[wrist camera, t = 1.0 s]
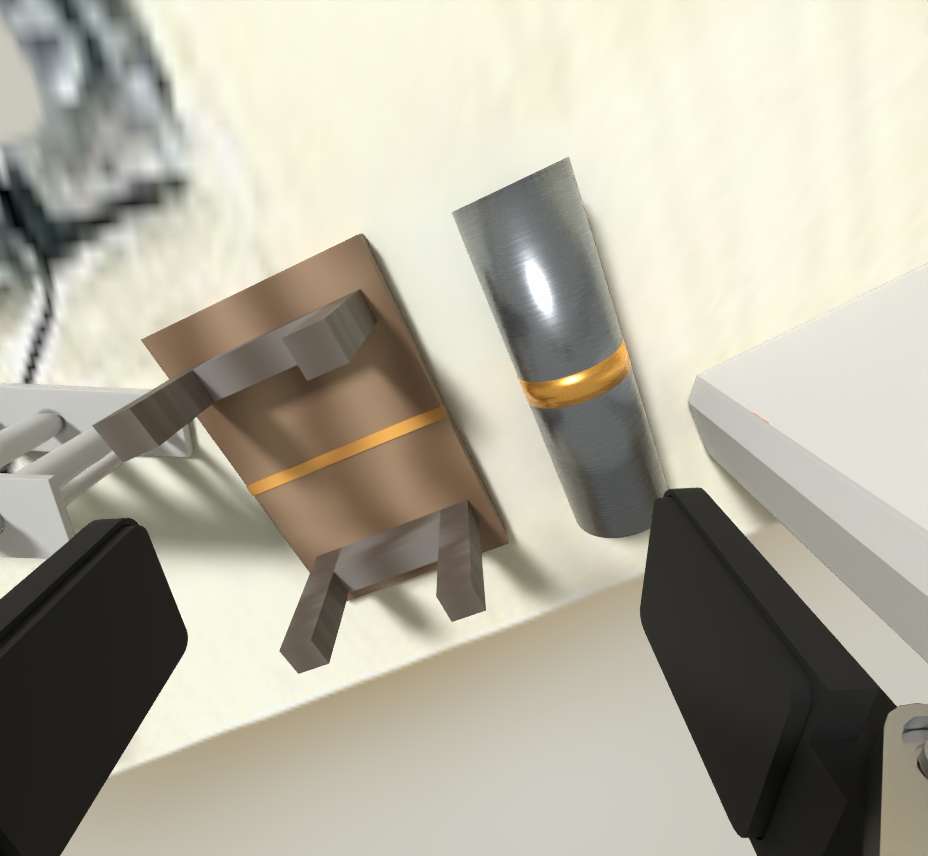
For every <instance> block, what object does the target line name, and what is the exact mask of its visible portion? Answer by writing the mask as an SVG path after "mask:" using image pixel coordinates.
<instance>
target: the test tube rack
mask: <svg viewBox="0 0 928 856" xmlns="http://www.w3.org/2000/svg"><path fill="white" fill-rule="evenodd" d="M151 390H153V389H130V388H107V387H85V386H63V385H41V384H19V383H0V468H1V467H3V466H4V465H6V464H8V463H10V462H11V461H13V460H15V459H17V458H18V457H20V456H22V455H24V454H26V453H27V452H29V451H44V452H49V453H47V454H46V455H44V456H42V457H41V458H39V459H37V460H36V461H34V462H32V463H31V464H29V465H27V466H26V467H24V468H22V469H21V470H19V471H17V472H16V473H14V474H6V473H0V529H1V528H3V527H4V529H3V530H1V531H0V557H16V558H49V557H50V556H52V555H53V554H54V553H55V552H56V551H57V550H59V549H60V548H61V547H62V546H63V545H64V544H66V543H67V542H68V541H69V540H70V539H71V538H73V537H74V536H75V534H74V531H73V528H72V525H71V522H70V519H69V516H68V513H67V510H66V505H68V504H69V503H70V502H72V501H73V500H74V499H76V498H77V497H78V496H80V495H81V494H82V493H84V492H85V491H86V490H88V489H89V488H90V487H92V486H93V485H94V484H95V483H97V482H98V481H99V480H101V479H102V478H103V477H105V476H106V475H107V474H109V473H110V472H111V471H113V470H114V469H115V468H117V467H118V466H119V465H121V464H122V463H123V462H122V461H121V460H120V459H119V458H118V456H117V455H116V454H115V453H114V452H113V450H112V449H111V448H110V447H109V446H108V444H107V443H106V442H105V441H104V440H103V438H102V437H101V436H100V435H99V434H98V432H97V431H96V430H95V429H94V428H93V426H92V425H94V424H95V423H97V422H99V421H100V420H102V419H104V418H105V417H107V416H109V415H111V414H112V413H114V412H116V411H117V410H119V409H121V408H122V407H124V406H126V405H127V404H129V403H131V402H133V401H134V400H136V399H138V398H139V397H141V396H143V395H144V394H146V393H148V392H149V391H151ZM193 453H194V449H193V444H192V439H191V434H190V429H189V424H187V425H185V426H184V427H183V428H182V429H180V430H179V431H178V432H177V433H175V434H174V435H173V436H172V437H170V438H169V439H168V440H167V441H165V442H164V443H163V444H162V445H160V446H159V447H157V448H154V449H152V450H150V451H148V452H145V453H143V454H141V455H144V456H169V457H190V456H191V455H192V454H193ZM107 454H108V455H107ZM104 456H105V457H104ZM103 457H104V458H103ZM101 458H102V459H101ZM100 459H101V460H100ZM98 460H99V461H98ZM97 461H98V462H97ZM94 463H95V464H94ZM93 464H94V465H93ZM91 465H92V466H91ZM90 466H91V467H90ZM88 467H89V468H88ZM87 468H88V469H87ZM86 469H87V470H86ZM84 470H85V471H84ZM83 471H84V472H83ZM81 472H82V473H81ZM80 473H81V474H80ZM78 474H79V475H78ZM77 475H78V476H77ZM76 476H77V477H76ZM74 477H75V478H74ZM73 478H74V479H73ZM71 479H72V480H71ZM70 480H71V481H70ZM68 481H69V482H68ZM67 482H68V483H67ZM66 483H67V484H66ZM64 484H65V485H64ZM63 485H64V486H63ZM61 486H62V487H61ZM60 487H61V488H60Z"/></svg>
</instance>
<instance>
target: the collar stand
mask: <svg viewBox="0 0 928 856" xmlns="http://www.w3.org/2000/svg"><path fill="white" fill-rule="evenodd" d="M141 341H142V342H143V343H144V345H145V346H146V348H147V349H148V350H149V352H150V353H151V354H152V356H153V357H154V359H155V360H156V361H157V363H158V364H159V366H160V367H161V368H162V370H163V371H164V372H165V374H166V375H167V377H168V378H169V379H170V380H168V381H166V382H165V383H163V384H161V385H160V386H158V387H156V388H154V389H153V390H151V391H149V392H148V393H146V394H144V395H143V396H141V397H139V398H138V399H136V400H134V401H133V402H131V403H129V404H127V405H126V406H124V407H122V408H121V409H119V410H117V411H116V412H114V413H112V414H111V415H109V416H107V417H105V418H104V419H102V420H100V421H99V422H97V423H95V424H94V425H92V426H93V428H94V429H95V430H96V431H97V432H98V434H99V435H100V436H101V437H102V438H103V440H104V441H105V442H106V443H107V444H108V446H109V447H110V448H111V449H112V450H113V452H114V453H115V454H116V455H117V456H118V458H119V459H120V460H121V461H122V462H125V461H127V460H130V459H132V458H134V457H136V456H139V455H141V454H143V453H145V452H148V451H150V450H152V449H154V448H157V447H159V446H160V445H162V444H163V443H164V442H165V441H167V440H168V439H169V438H170V437H172V436H173V435H174V434H175V433H177V432H178V431H179V430H180V429H182V428H183V427H184V426H185V425H187V424H188V423H189V422H190V421H192V420H193V419H194V418H195V417H197V418H198V419H199V421H200V422H201V423H202V425H203V426H204V428H205V429H206V430H207V432H208V433H209V434H210V436H211V437H212V439H213V440H214V441H215V443H216V444H217V445H218V447H219V448H220V450H221V451H222V452H223V454H224V455H225V456H226V458H227V459H228V461H229V462H230V463H231V465H232V466H233V467H234V469H235V470H236V472H237V473H238V474H239V476H240V477H241V479H242V480H243V481H244V483H245V484H246V485H247V486H246V487H247V488H248V490H249V491H250V493H251V494H252V495H253V496H255V498H256V499H257V501H258V502H259V503H260V505H261V506H262V507H263V509H264V510H265V512H266V513H267V514H268V516H269V517H270V518H271V520H272V521H273V523H274V524H275V525H276V527H277V528H278V529H279V531H280V532H281V534H282V535H283V536H284V538H285V539H286V541H287V542H288V543H289V545H290V546H291V547H292V549H293V550H294V552H295V553H296V554H297V556H298V557H299V558H300V560H301V561H302V563H303V564H304V565H305V567H306V568H307V569H308V571H309V572H310V575H309V578H308V580H307V583H306V585H305V588H304V590H303V593H302V595H301V598H300V600H299V603H298V605H297V608H296V610H295V613H294V615H293V618H292V620H291V623H290V626H289V628H288V631H287V633H286V636H285V638H284V641H283V643H282V646H281V648H280V652H281V653H282V655H283V656H284V657H285V658H286V659H287V661H288V662H289V663H290V664H291V665H292V667H293V668H294V669H295V670H296V671H297V673H298V674H299V673H302V672H305V671H308V670H311V669H314V668H317V667H320V666H323V665H326V664H329V662H330V658H331V655H332V651H333V647H334V644H335V640H336V637H337V633H338V629H339V626H340V622H341V619H342V615H343V611H344V608H345V604H346V601H349V600H352V599H354V598H357V597H360V596H363V595H365V594H368V593H371V592H374V591H377V590H379V589H382V588H385V587H388V586H391V585H393V584H396V583H399V582H402V581H405V580H407V579H410V578H413V577H416V576H419V575H421V574H424V573H427V572H430V571H433V570H435V569H438V572H437V593H436V596H437V598H438V600H439V601H440V603H441V605H442V606H443V608H444V610H445V611H446V613H447V615H448V616H449V618H450V620H451V621H452V622H453V621H456V620H459V619H462V618H465V617H468V616H471V615H474V614H477V613H480V612H483V611H486V605H485V593H484V580H483V568H482V555H481V553H483V552H486V551H488V550H491V549H494V548H497V547H500V546H502V545H505V544H508V539H507V533H506V529H505V527H504V525H503V523H502V521H501V519H500V517H499V515H498V513H497V511H496V508H495V506H494V504H493V502H492V500H491V498H490V496H489V494H488V492H487V490H486V488H485V486H484V484H483V482H482V479H481V477H480V475H479V473H478V471H477V469H476V467H475V465H474V463H473V461H472V459H471V457H470V455H469V453H468V451H467V448H466V446H465V444H464V442H463V440H462V438H461V436H460V434H459V432H458V430H457V428H456V426H455V424H454V422H453V420H452V417H451V415H450V413H449V411H448V409H447V407H446V405H445V403H444V401H443V399H442V397H441V395H440V393H439V391H438V388H437V386H436V384H435V382H434V380H433V378H432V376H431V374H430V372H429V370H428V368H427V366H426V364H425V362H424V360H423V357H422V355H421V353H420V351H419V349H418V347H417V345H416V343H415V341H414V339H413V337H412V335H411V333H410V331H409V329H408V326H407V324H406V322H405V320H404V318H403V316H402V314H401V312H400V310H399V308H398V306H397V304H396V302H395V300H394V298H393V295H392V293H391V291H390V289H389V287H388V285H387V283H386V281H385V279H384V277H383V275H382V273H381V271H380V269H379V266H378V264H377V262H376V260H375V258H374V256H373V254H372V252H371V250H370V248H369V246H368V244H367V242H366V240H365V238H364V235H363V234H359V235H356V236H354V237H352V238H350V239H348V240H346V241H344V242H342V243H340V244H338V245H336V246H334V247H331V248H329V249H327V250H325V251H323V252H321V253H319V254H317V255H315V256H313V257H311V258H309V259H307V260H305V261H303V262H300V263H298V264H296V265H294V266H292V267H290V268H288V269H286V270H284V271H282V272H280V273H278V274H276V275H274V276H272V277H270V278H267V279H265V280H263V281H261V282H259V283H257V284H255V285H253V286H251V287H249V288H247V289H245V290H243V291H241V292H239V293H236V294H234V295H232V296H230V297H228V298H226V299H224V300H222V301H220V302H218V303H216V304H214V305H212V306H210V307H208V308H206V309H203V310H201V311H199V312H197V313H195V314H193V315H191V316H189V317H187V318H185V319H183V320H181V321H179V322H177V323H175V324H172V325H170V326H168V327H166V328H164V329H162V330H160V331H158V332H156V333H154V334H152V335H150V336H148V337H146V338H144V339H141Z"/></svg>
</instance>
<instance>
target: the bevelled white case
mask: <svg viewBox="0 0 928 856" xmlns="http://www.w3.org/2000/svg"><path fill="white" fill-rule="evenodd" d="M688 404H689V406H690V409H691V411H692V414H693V417H694V419H695V422H696V424H697V427H698V430H699V432H700V435H701V437H702V440H703V443H704V445H705V448H706V450H707V453H708V454H709V455H710V456H711V457H712V458H713V459H714V460H715V461H716V462H718V463H719V464H720V465H721V466H722V467H723V468H724V469H725V470H726V471H727V472H728V473H729V474H730V475H731V476H732V477H733V478H734V479H735V480H736V481H737V482H738V483H740V484H741V485H742V486H743V487H744V488H745V489H746V490H747V491H748V492H749V493H750V494H751V495H752V496H753V497H754V498H755V499H756V500H757V501H758V502H759V503H761V504H762V505H763V506H764V507H765V508H766V509H767V510H768V511H769V512H770V513H771V514H772V515H773V516H774V517H775V518H776V519H777V520H778V521H779V522H780V523H781V524H783V525H784V526H785V527H786V528H787V529H788V530H789V531H790V532H791V533H792V534H793V535H794V536H795V537H796V538H797V539H798V540H800V542H801V543H803V544H804V545H805V546H806V547H807V548H808V549H809V550H810V551H811V552H812V553H813V554H814V555H815V556H816V557H817V558H818V559H819V560H821V562H823V563H824V565H826V566H827V567H828V568H829V569H830V570H831V571H832V572H833V573H834V574H835V575H836V576H837V577H838V578H839V579H840V580H841V581H842V582H843V583H844V584H845V585H847V586H848V587H849V588H850V589H851V590H852V591H853V592H854V593H855V594H856V595H857V596H858V597H859V598H860V599H861V600H862V601H863V602H864V603H865V604H866V605H868V606H869V607H870V608H871V609H872V610H873V611H874V612H875V613H876V614H877V615H878V616H879V617H880V618H881V619H882V620H883V621H884V622H885V623H887V625H888V626H890V627H891V628H892V629H893V630H894V631H895V632H896V633H897V634H898V635H899V636H900V637H901V638H902V639H903V640H904V641H905V642H906V643H908V645H909V646H911V647H912V648H913V649H914V650H915V651H916V652H917V653H918V654H919V655H920V656H921V657H922V658H923V659H924V660H925V661H926V662H927V663H928V263H926V264H924V265H922V266H920V267H918V268H916V269H914V270H912V271H910V272H908V273H906V274H904V275H901V276H899V277H897V278H895V279H893V280H891V281H889V282H887V283H885V284H883V285H881V286H879V287H877V288H875V289H873V290H871V291H869V292H867V293H864V294H862V295H860V296H858V297H856V298H854V299H852V300H850V301H848V302H846V303H844V304H842V305H840V306H838V307H836V308H834V309H832V310H829V311H827V312H825V313H823V314H821V315H819V316H817V317H815V318H813V319H811V320H809V321H807V322H805V323H803V324H801V325H799V326H797V327H795V328H792V329H790V330H788V331H786V332H784V333H782V334H780V335H778V336H776V337H774V338H772V339H770V340H768V341H766V342H764V343H762V344H760V345H758V346H755V347H753V348H751V349H749V350H747V351H745V352H743V353H741V354H739V355H737V356H735V357H733V358H731V359H729V360H727V361H725V362H723V363H721V364H718V365H716V366H714V367H712V368H710V369H708V370H706V371H704V372H702V373H700V374H698V375H697V376H696V379H695V382H694V384H693V387H692V390H691V393H690V396H689V399H688Z"/></svg>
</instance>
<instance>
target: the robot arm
mask: <svg viewBox="0 0 928 856" xmlns="http://www.w3.org/2000/svg"><path fill="white" fill-rule="evenodd" d="M640 617H641V622H642V625H643V629H644V631H645V634H646V636H647V638H648V640H649V642H650V644H651V646H652V649H653V651H654V654H655V656H656V658H657V660H658V662H659V664H660V667H661V669H662V671H663V673H664V676H665V678H666V680H667V682H668V685H669V687H670V689H671V691H672V694H673V696H674V698H675V700H676V703H677V705H678V706H679V709H680V711H681V714H682V716H683V718H684V720H685V722H686V725H687V727H688V729H689V731H690V733H691V736H692V738H693V740H694V742H695V744H696V747H697V749H698V751H699V754H700V756H701V758H702V760H703V763H704V765H705V767H706V769H707V771H708V774H709V776H710V778H711V780H712V783H713V785H714V787H715V789H716V791H717V793H718V796H719V798H720V800H721V803H722V805H723V807H724V809H725V811H726V813H727V816H728V818H729V820H730V822H731V824H732V826H733V828H734V830H735V831H736V832H737V834H738V835H739V836H740V837H742V838H749V839H750V841H751V843H752V846H753V848H754V850H755V852H756V854H757V856H928V705H927V704H921V703H914V704H907V705H900V706H899V707H897V706H896V705H895V704H894V703H893V702H892V701H891V700H890V698H889V697H888V696H887V695H886V694H885V693H884V692H883V691H882V689H881V688H880V687H879V686H878V685H877V684H876V683H875V682H874V680H873V679H872V678H871V677H870V676H869V675H868V674H867V672H866V671H865V670H864V669H863V668H862V667H861V666H860V665H859V663H858V662H857V661H856V660H855V659H854V658H853V657H852V656H851V654H849V652H848V651H847V650H846V649H845V648H844V647H843V646H842V644H841V643H840V642H839V641H838V640H837V639H836V638H835V636H834V635H833V634H832V633H831V632H830V631H829V630H828V629H827V627H826V626H825V625H824V624H823V623H822V622H821V621H820V620H819V619H818V617H817V616H816V615H815V614H814V613H813V612H812V611H811V610H810V608H809V607H808V606H807V605H806V604H805V603H804V602H803V601H802V599H801V598H800V597H799V596H798V595H797V594H796V593H795V592H794V590H793V589H792V588H791V587H790V586H789V585H788V584H787V583H786V581H785V580H784V579H783V578H782V577H781V576H780V575H779V574H778V573H777V571H776V570H775V569H774V568H773V567H772V566H771V565H770V564H769V562H768V561H767V560H766V559H765V558H764V557H763V556H762V555H761V553H760V552H759V551H758V550H757V549H756V548H755V547H754V546H753V544H751V542H750V541H749V540H748V539H747V538H746V537H745V535H744V534H743V533H742V532H741V531H740V530H739V529H738V528H737V526H736V525H735V524H734V523H733V522H732V521H731V520H730V519H729V517H728V516H727V515H726V514H725V513H724V512H723V511H722V510H721V508H720V507H719V506H718V505H717V504H716V503H715V502H714V501H713V499H712V498H711V497H710V496H709V495H708V494H707V493H706V492H705V491H704V490H703V489H702V488H682V489H668V490H667V491H666V492H665V493H664V496H663V498H657V499H656V500H655V502H654V507H653V515H652V523H651V530H650V538H649V545H648V553H647V560H646V568H645V575H644V583H643V590H642V598H641V606H640ZM187 642H188V634H187V630H186V628H185V625H184V623H183V620H182V618H181V615H180V613H179V610H178V608H177V605H176V602H175V600H174V597H173V595H172V592H171V590H170V587H169V585H168V582H167V580H166V577H165V575H164V572H163V570H162V567H161V565H160V562H159V560H158V557H157V555H156V552H155V549H154V547H153V544H152V542H151V539H150V537H149V534H148V532H147V530H146V529H145V528H144V527H143V526H139V525H138V523H137V522H136V521H135V520H133V519H130V518H120V519H101V520H95V521H93V522H91V523H89V524H88V525H87V526H85V527H84V528H83V529H82V530H81V531H80V532H78V533H77V534H76V535H75V536H74V537H73V538H71V539H70V540H69V541H68V542H67V543H66V544H64V545H63V546H62V547H61V548H60V549H59V550H57V551H56V552H55V553H54V554H53V555H52V556H50V557H49V558H48V559H47V560H46V561H45V562H43V563H42V564H41V565H40V566H39V567H38V568H36V569H35V570H34V571H33V572H32V573H31V574H29V575H28V576H27V577H26V578H25V579H24V580H22V581H21V582H20V583H19V584H18V585H17V586H15V587H14V588H13V589H12V590H11V591H10V592H8V593H7V594H6V595H5V596H4V597H3V598H1V599H0V856H60V855H61V854H62V852H63V850H64V848H65V847H66V845H67V844H68V842H69V840H70V838H71V837H72V835H73V834H74V832H75V831H76V829H77V827H78V826H79V824H80V822H81V821H82V819H83V818H84V816H85V814H86V813H87V811H88V809H89V808H90V806H91V805H92V803H93V801H94V800H95V798H96V796H97V795H98V793H99V791H100V790H101V788H102V786H103V785H104V783H105V782H106V780H107V778H108V777H109V775H110V773H111V772H112V770H113V769H114V767H115V765H116V764H117V762H118V760H119V759H120V757H121V755H122V754H123V752H124V751H125V749H126V747H127V746H128V744H129V742H130V741H131V739H132V738H133V736H134V734H135V733H136V731H137V729H138V728H139V726H140V724H141V723H142V721H143V720H144V718H145V716H146V715H147V713H148V711H149V710H150V708H151V706H152V705H153V703H154V702H155V700H156V698H157V697H158V695H159V693H160V692H161V690H162V688H163V687H164V685H165V684H166V682H167V680H168V679H169V677H170V675H171V674H172V672H173V670H174V669H175V667H176V666H177V664H178V662H179V661H180V659H181V657H182V656H183V654H184V652H185V650H186V647H187Z"/></svg>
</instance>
